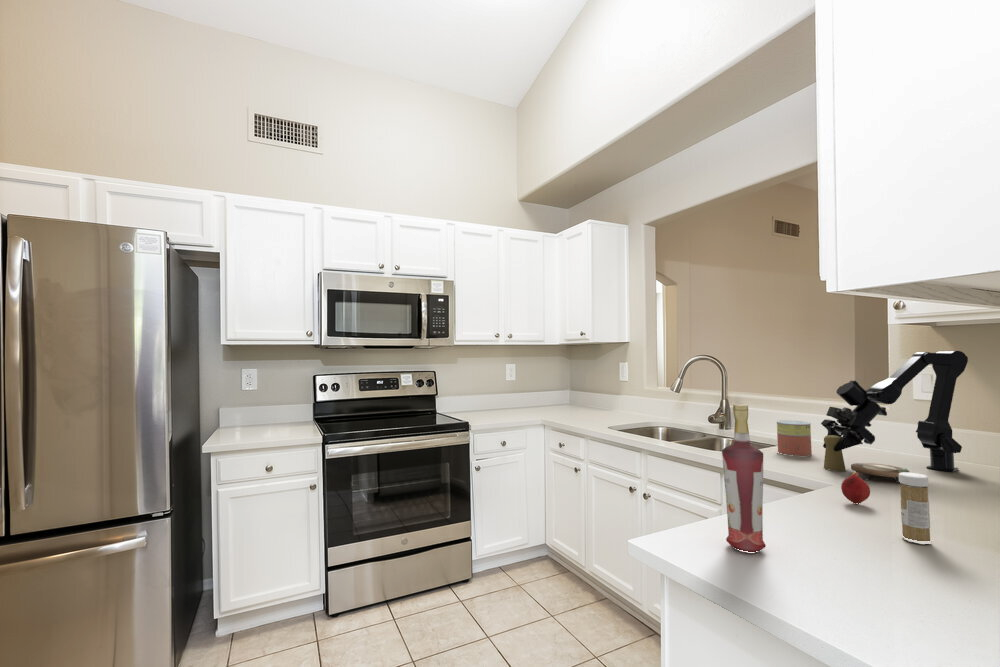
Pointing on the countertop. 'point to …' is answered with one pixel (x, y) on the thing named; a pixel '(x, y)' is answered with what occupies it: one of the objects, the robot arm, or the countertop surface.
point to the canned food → (794, 438)
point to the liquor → (743, 487)
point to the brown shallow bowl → (877, 470)
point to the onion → (855, 488)
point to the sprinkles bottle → (915, 506)
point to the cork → (833, 454)
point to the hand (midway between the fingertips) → (829, 448)
